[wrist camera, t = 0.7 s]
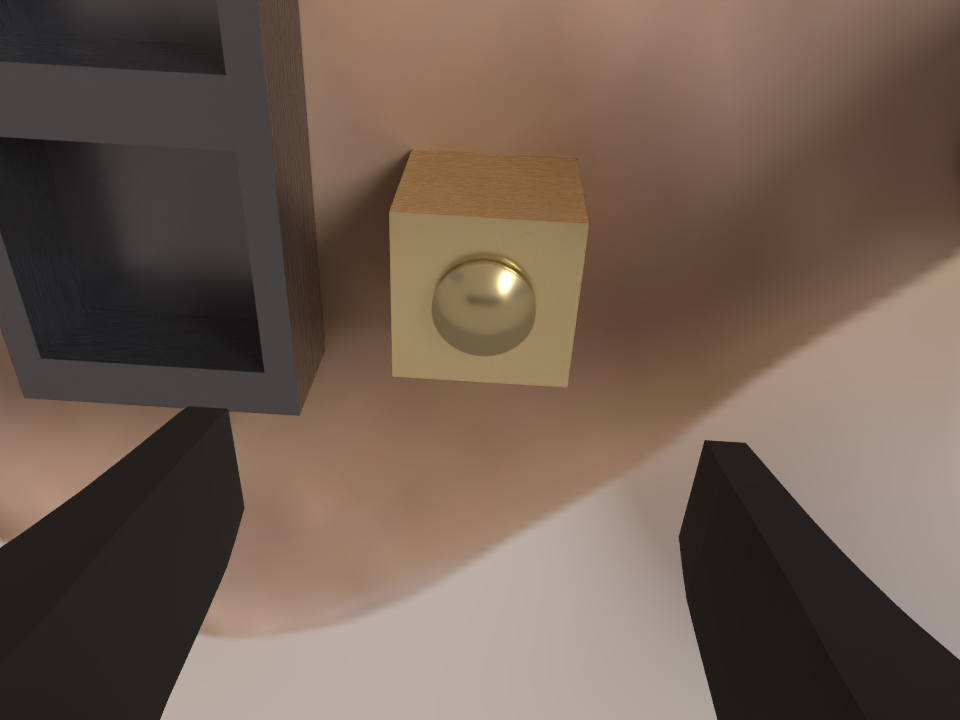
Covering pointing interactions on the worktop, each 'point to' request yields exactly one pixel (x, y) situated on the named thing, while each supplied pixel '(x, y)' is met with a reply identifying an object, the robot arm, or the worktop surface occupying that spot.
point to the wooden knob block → (486, 267)
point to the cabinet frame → (158, 204)
